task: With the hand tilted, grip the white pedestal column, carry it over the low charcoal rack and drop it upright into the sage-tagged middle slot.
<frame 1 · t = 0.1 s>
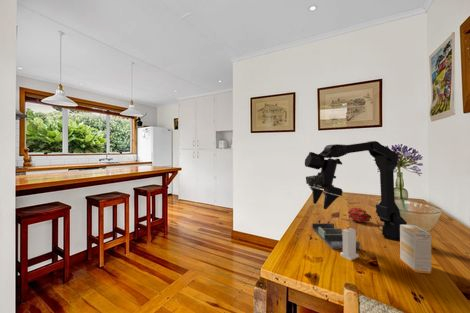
hand: (319, 206, 88), 15 cm above the table, tool pointing down, fingers open, 9 cm apart
supplement box: (414, 267, 68), on the table
white pedestal column: (349, 256, 75), on the table
rack: (333, 237, 91), on the table
dragon fruit: (359, 222, 112), on the table
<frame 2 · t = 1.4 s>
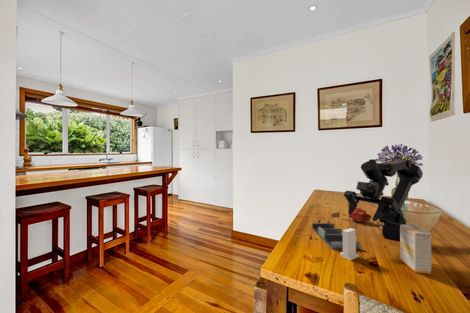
hand: (360, 217, 79), 13 cm above the table, tool tilted 45°, fingers open, 9 cm apart
nothing on the table moved.
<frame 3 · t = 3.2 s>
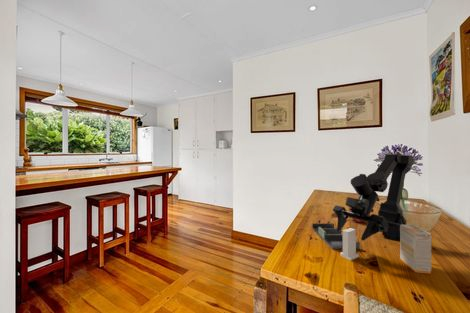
hand: (349, 235, 75), 8 cm above the table, tool tilted 45°, fingers open, 9 cm apart
nothing on the table moved.
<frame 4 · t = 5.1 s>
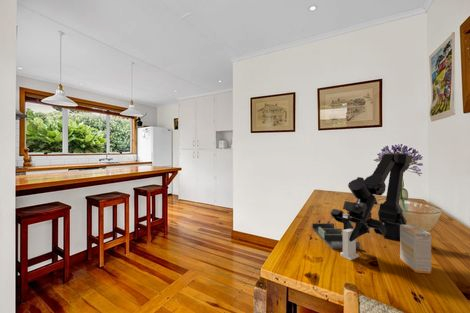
hand: (346, 239, 74), 7 cm above the table, tool tilted 45°, fingers closed on white pedestal column, 2 cm apart
white pedestal column: (349, 256, 75), on the table, touching gripper
everything else where it was.
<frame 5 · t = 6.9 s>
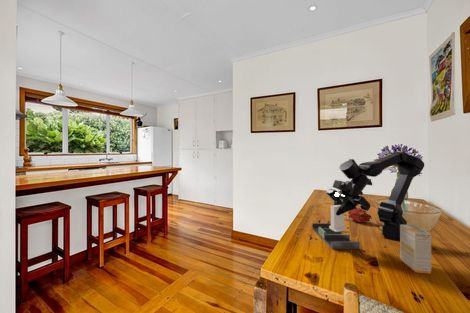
hand: (334, 214, 83), 14 cm above the table, tool tilted 45°, fingers closed on white pedestal column
white pedestal column: (337, 229, 83), point 7 cm above the table, touching gripper
everything else where it was.
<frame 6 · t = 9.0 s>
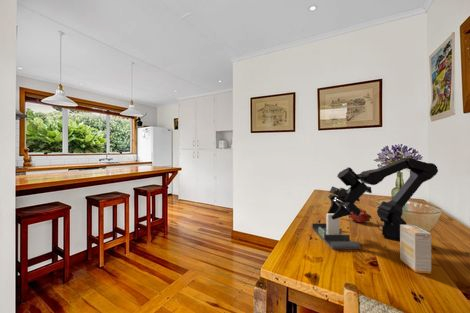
hand: (329, 217, 91), 10 cm above the table, tool tilted 45°, fingers open, 4 cm apart
white pedestal column: (332, 235, 91), point 1 cm above the table, touching rack
everything else where it was.
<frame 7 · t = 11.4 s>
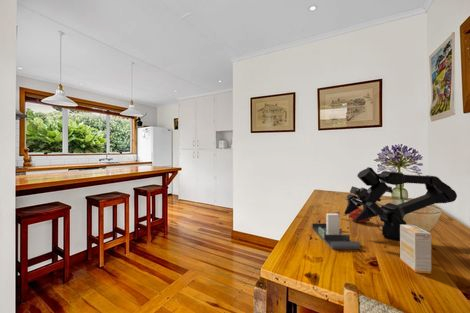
hand: (350, 217, 91), 9 cm above the table, tool tilted 45°, fingers open, 9 cm apart
nothing on the table moved.
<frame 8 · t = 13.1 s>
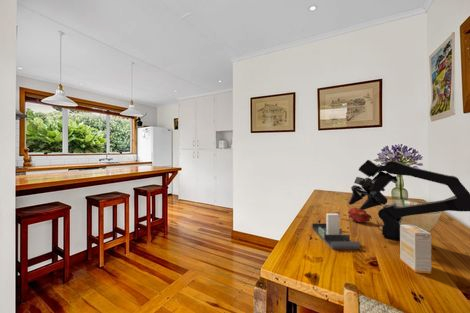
hand: (354, 206, 94), 14 cm above the table, tool tilted 45°, fingers open, 9 cm apart
nothing on the table moved.
at the end: white pedestal column 0.1 cm off-centre on the rack, point 0.9 cm above the rack's base; white pedestal column tilted 0°; the gripper is holding nothing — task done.
